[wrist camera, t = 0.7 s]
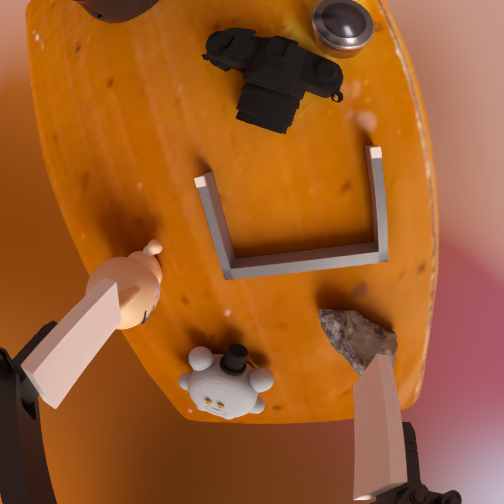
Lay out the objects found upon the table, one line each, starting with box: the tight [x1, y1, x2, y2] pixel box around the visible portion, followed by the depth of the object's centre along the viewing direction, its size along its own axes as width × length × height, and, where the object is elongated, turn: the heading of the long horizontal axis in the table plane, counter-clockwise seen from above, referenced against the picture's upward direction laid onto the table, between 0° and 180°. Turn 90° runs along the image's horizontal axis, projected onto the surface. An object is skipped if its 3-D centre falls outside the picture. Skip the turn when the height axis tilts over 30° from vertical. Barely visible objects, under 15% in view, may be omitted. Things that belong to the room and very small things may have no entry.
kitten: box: [72, 239, 163, 329], centre depth 37 cm, size 15×10×15 cm
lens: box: [312, 0, 374, 59], centre depth 21 cm, size 6×6×6 cm
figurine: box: [179, 344, 274, 419], centre depth 47 cm, size 17×8×20 cm
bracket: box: [194, 145, 388, 280], centre depth 33 cm, size 14×21×3 cm, turn 103°
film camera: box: [202, 28, 343, 134], centre depth 25 cm, size 15×10×9 cm, turn 71°
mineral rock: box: [318, 309, 398, 376], centre depth 36 cm, size 13×11×10 cm
